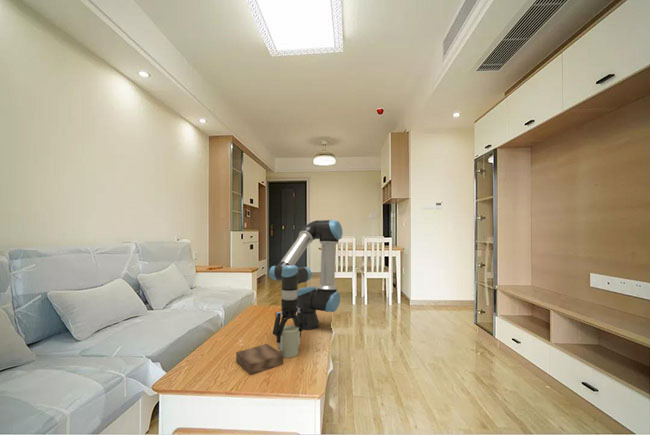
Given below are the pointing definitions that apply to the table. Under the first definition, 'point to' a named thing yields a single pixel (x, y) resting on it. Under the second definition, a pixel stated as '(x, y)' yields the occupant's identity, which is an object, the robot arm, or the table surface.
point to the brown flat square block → (259, 358)
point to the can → (290, 341)
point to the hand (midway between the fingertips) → (288, 346)
